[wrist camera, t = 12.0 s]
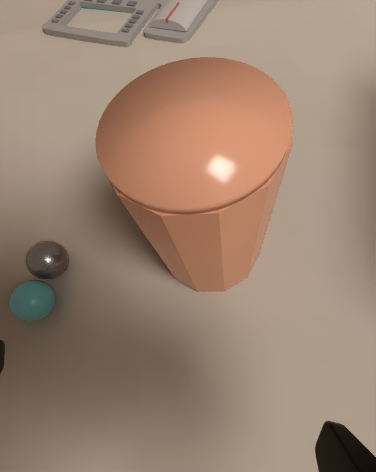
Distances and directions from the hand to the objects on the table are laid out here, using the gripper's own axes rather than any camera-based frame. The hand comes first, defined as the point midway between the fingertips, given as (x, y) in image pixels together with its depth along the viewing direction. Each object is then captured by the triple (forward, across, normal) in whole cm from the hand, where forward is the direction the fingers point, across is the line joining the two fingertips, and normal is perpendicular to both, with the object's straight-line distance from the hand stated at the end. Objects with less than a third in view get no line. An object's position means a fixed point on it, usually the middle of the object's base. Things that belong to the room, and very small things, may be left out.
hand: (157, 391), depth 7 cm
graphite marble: (+13, +11, +3) cm, 17 cm away
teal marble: (+11, +11, +6) cm, 17 cm away
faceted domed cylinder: (+15, -1, -1) cm, 15 cm away
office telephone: (+38, +15, -27) cm, 49 cm away
